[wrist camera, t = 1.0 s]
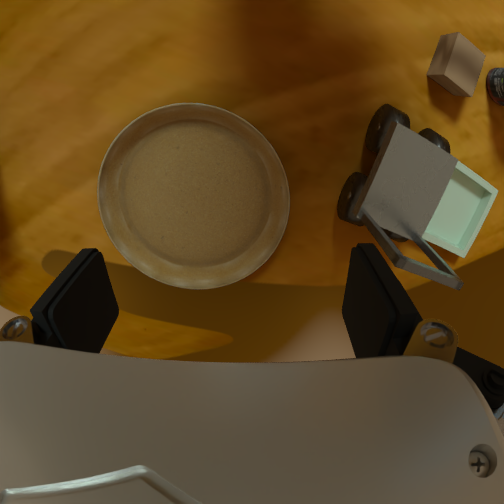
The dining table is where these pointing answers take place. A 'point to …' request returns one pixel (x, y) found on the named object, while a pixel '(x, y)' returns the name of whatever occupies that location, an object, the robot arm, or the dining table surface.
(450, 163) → the trolley
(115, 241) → the plant saucer
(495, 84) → the supplement bottle
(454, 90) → the block
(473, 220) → the tray
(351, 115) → the dining table surface
